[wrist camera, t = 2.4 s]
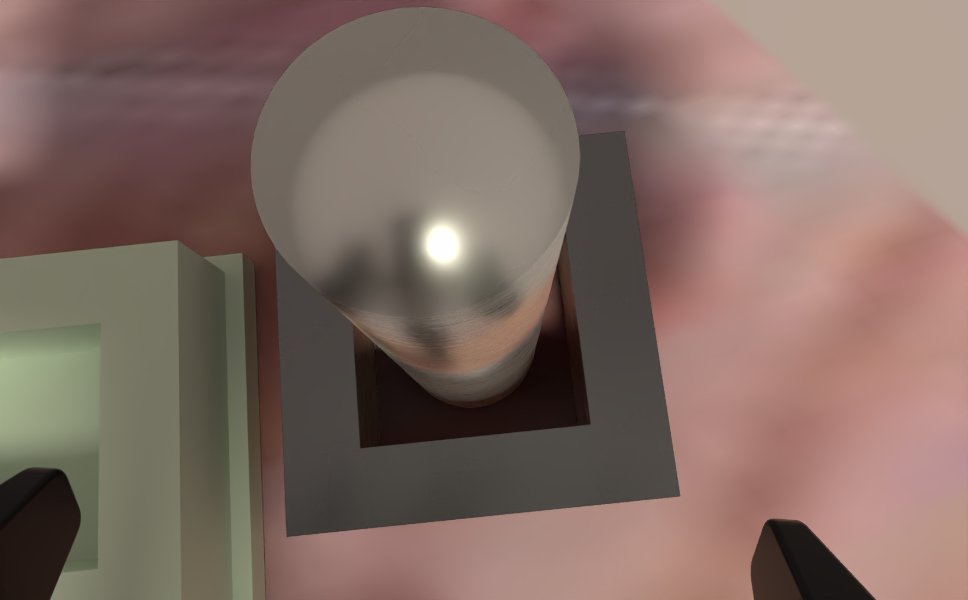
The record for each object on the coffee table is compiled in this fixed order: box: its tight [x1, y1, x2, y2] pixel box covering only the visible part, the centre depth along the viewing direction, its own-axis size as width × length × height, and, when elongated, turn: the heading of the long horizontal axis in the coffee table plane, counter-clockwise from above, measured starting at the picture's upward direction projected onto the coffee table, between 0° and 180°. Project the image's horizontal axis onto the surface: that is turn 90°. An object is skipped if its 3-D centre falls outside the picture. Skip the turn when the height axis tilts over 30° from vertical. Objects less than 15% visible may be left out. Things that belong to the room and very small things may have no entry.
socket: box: [275, 131, 680, 537], centre depth 19 cm, size 9×9×3 cm
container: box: [0, 240, 266, 600], centre depth 18 cm, size 10×10×4 cm
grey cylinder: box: [250, 7, 580, 408], centre depth 14 cm, size 4×4×13 cm
